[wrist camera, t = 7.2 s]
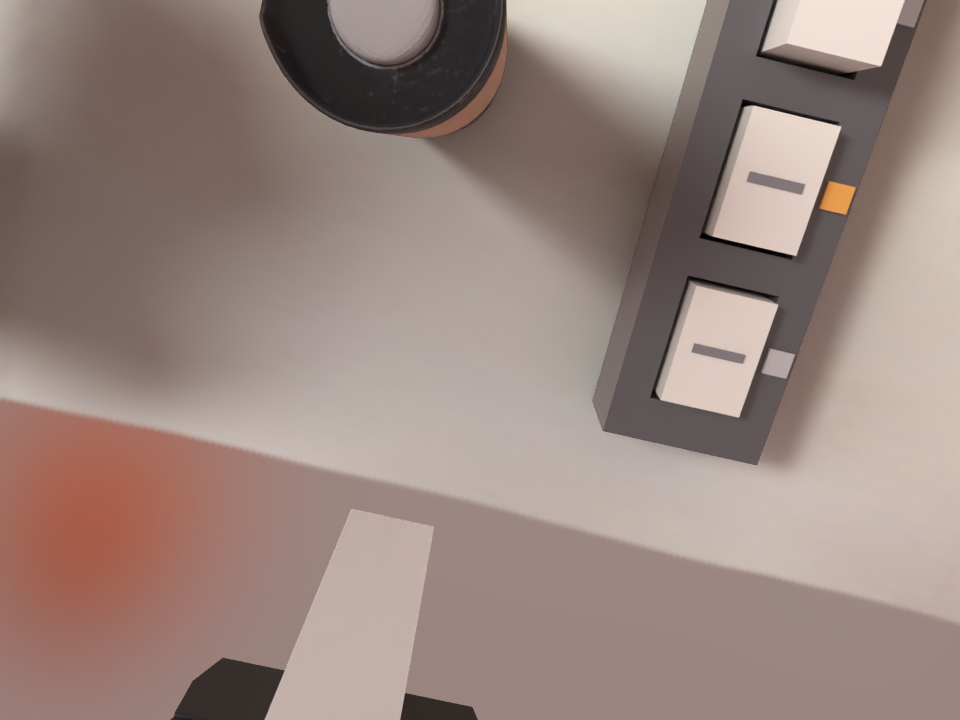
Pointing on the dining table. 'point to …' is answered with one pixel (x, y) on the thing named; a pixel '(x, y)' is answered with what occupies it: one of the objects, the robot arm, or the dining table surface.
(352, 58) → the travel mug
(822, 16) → the button
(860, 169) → the power strip
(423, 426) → the dining table surface
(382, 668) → the robot arm
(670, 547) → the dining table surface
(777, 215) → the button
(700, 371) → the button
